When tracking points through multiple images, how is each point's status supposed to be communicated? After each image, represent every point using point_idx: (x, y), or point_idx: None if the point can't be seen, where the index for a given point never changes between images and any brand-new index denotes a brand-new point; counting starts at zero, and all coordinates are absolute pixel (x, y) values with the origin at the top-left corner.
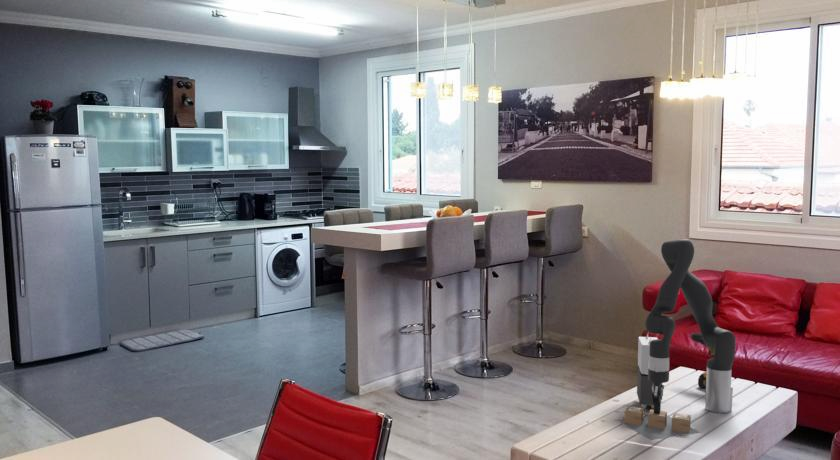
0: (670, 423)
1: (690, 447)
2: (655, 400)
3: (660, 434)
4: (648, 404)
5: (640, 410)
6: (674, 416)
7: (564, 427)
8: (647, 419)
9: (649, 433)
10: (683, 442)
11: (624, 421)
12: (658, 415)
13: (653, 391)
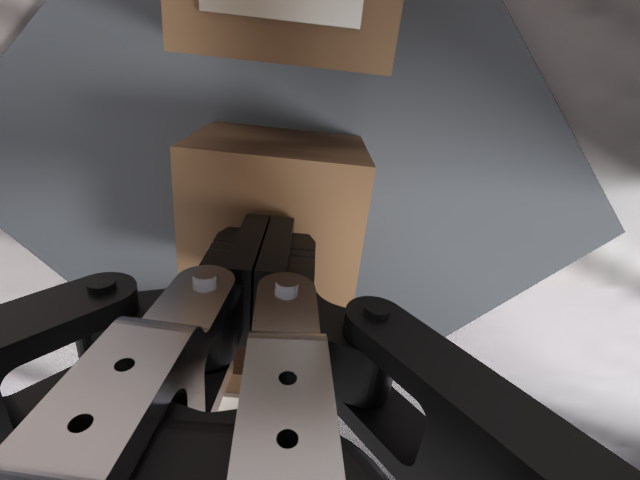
0: (376, 288)
1: (10, 384)
2: (77, 342)
3: (88, 228)
4: None
5: (278, 30)
6: (228, 387)
7: None
8: (428, 107)
9: (57, 143)
10: (68, 353)
11: None
12: (181, 259)
13: (13, 465)
